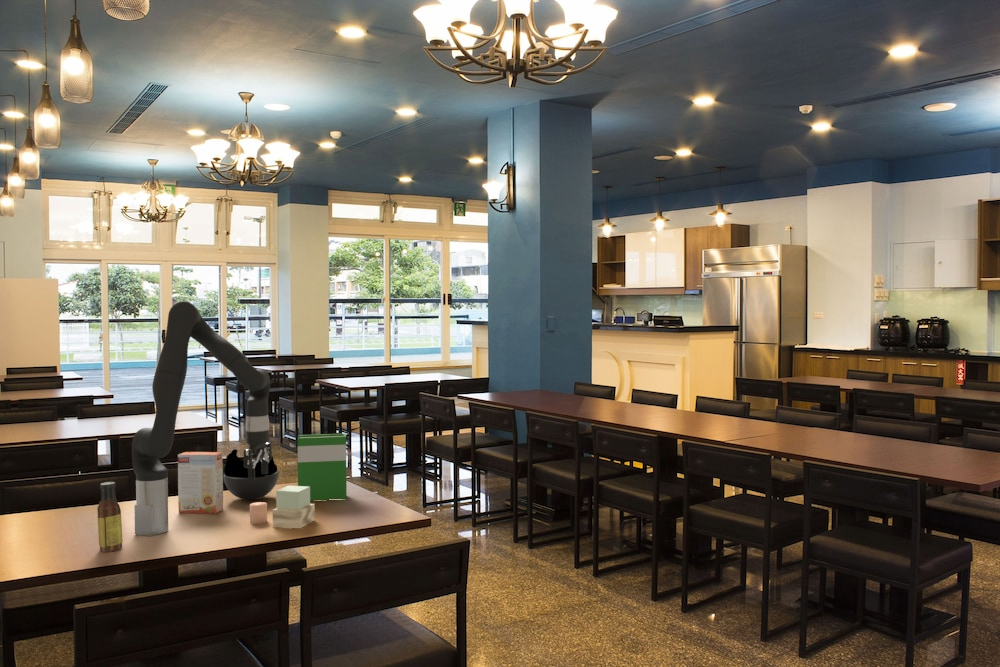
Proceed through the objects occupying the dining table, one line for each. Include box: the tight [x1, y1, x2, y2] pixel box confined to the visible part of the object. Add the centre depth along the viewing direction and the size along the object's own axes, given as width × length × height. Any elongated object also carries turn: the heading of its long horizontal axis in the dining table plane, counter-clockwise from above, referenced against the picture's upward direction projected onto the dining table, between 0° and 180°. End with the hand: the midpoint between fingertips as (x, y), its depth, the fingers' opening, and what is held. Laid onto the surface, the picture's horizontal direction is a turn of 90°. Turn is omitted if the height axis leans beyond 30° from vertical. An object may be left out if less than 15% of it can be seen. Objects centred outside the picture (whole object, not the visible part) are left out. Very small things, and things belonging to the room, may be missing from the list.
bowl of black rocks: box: [223, 449, 280, 501], centre depth 287 cm, size 20×20×19 cm
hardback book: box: [297, 433, 348, 501], centre depth 287 cm, size 18×7×24 cm, turn 103°
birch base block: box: [272, 503, 316, 529], centre depth 253 cm, size 10×10×6 cm
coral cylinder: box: [249, 501, 268, 525], centre depth 255 cm, size 6×6×6 cm
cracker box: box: [177, 451, 224, 514], centre depth 269 cm, size 14×6×21 cm, turn 84°
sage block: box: [275, 485, 311, 510], centre depth 253 cm, size 8×8×6 cm
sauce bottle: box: [96, 481, 123, 553], centre depth 225 cm, size 6×6×20 cm
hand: (258, 476), depth 255 cm, fingers open, 8 cm apart
